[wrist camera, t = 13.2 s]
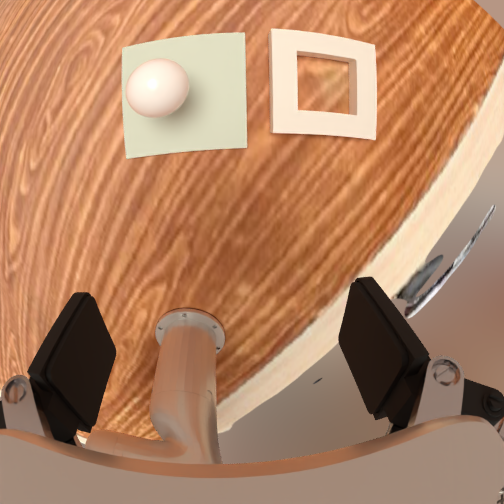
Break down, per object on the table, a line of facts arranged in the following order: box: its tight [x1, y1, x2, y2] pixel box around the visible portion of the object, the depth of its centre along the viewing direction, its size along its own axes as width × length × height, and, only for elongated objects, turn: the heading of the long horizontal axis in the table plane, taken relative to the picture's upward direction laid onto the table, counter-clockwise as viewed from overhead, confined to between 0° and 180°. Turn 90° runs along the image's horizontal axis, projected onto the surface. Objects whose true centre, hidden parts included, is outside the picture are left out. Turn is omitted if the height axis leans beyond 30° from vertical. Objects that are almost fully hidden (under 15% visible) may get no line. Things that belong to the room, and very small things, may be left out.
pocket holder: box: [268, 29, 377, 140], centre depth 29 cm, size 14×14×2 cm
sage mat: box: [122, 33, 247, 159], centre depth 29 cm, size 16×16×1 cm
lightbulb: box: [126, 58, 189, 118], centre depth 24 cm, size 6×6×11 cm
